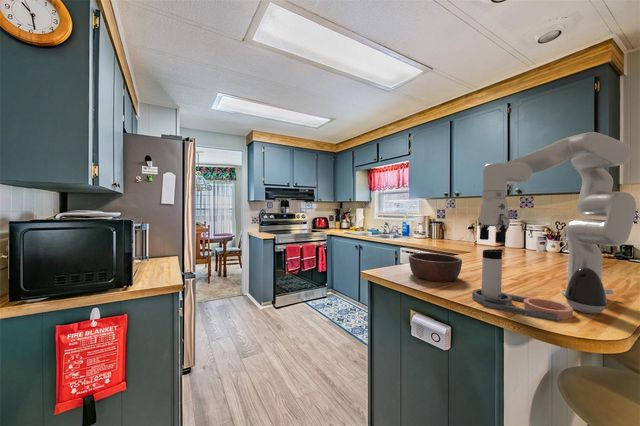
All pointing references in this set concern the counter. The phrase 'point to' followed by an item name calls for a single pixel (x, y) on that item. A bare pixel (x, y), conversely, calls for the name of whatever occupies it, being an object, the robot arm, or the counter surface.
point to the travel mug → (492, 273)
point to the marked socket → (561, 309)
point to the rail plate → (509, 304)
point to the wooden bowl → (435, 266)
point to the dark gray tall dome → (586, 292)
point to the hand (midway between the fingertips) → (491, 241)
